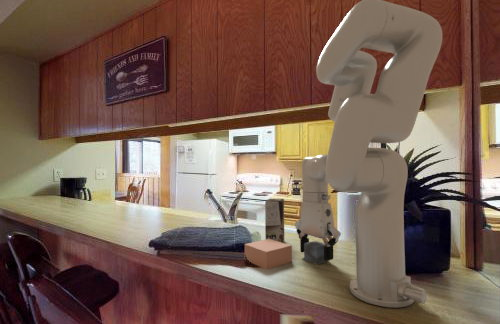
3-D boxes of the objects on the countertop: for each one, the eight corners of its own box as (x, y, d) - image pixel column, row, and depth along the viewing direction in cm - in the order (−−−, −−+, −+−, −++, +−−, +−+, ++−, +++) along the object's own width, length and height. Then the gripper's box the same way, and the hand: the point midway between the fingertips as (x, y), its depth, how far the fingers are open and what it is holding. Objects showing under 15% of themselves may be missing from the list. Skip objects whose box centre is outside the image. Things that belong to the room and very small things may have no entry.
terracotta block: (291, 262, 79) (291, 245, 79) (266, 270, 73) (266, 251, 73) (269, 254, 87) (269, 238, 87) (244, 260, 81) (244, 244, 81)
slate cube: (328, 261, 79) (328, 244, 79) (316, 264, 76) (316, 247, 76) (315, 256, 83) (315, 240, 83) (304, 259, 80) (304, 243, 81)
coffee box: (283, 246, 94) (282, 201, 95) (265, 246, 95) (264, 200, 96) (284, 240, 103) (284, 198, 104) (268, 239, 104) (267, 198, 105)
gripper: (347, 199, 75) (349, 261, 75) (303, 195, 90) (304, 246, 89) (329, 201, 71) (331, 266, 70) (286, 196, 86) (287, 250, 85)
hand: (316, 255), depth 80 cm, fingers open, 9 cm apart
